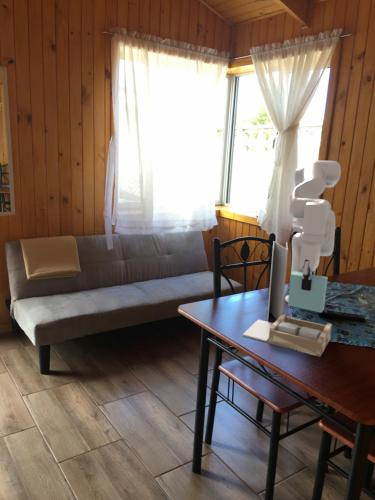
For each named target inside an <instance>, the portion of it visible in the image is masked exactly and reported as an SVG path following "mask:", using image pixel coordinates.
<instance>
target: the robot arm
mask: <svg viewBox="0 0 375 500" xmlns="http://www.w3.org/2000/svg"><path fill="white" fill-rule="evenodd" d="M341 168H342V167H341V165H340V163H339V162H338V161H336V160H320V159H319V160H318V159H315V160H314V159H313V160H309V161H307V162H305V164H304V165H303V166H300V167H298V168H296V169H295V172H294V186H295V187H294V189H293V190H292V191H291V192H290V193H291V194H290V197H289V206H288V207H289V210H288V211H289V215H290V217H292V218H293V219H296V225H297V227H298V228H299V229H301V231H302V232H297V233H296V234H294V235H293V236H292V239H291V250H292V255H291V256H292V257H291V259H292V260H291V269H290V270H291V271H290V274H291V273H293V272H294V271H296V272H301V273H303V277H302V286H301V289H302V290H307V291H310V290H311V283H312V280H311V275H312V274H313V275H316V270H317V268H318V267H319V265H320V264H319V263H320V257H329V256H331V255H332V254H333V252H334V248H335V235H336V233H335V232H336V213H335V212H334V210H332V205H331V204H330V201H328V200H327V199H324V198H319V197H320V196H321V195H322V194H323V192H324V191H326V188H334V187H335V186H336V185H337V183H338V182H339V181H340V179H341V175H342V170H341ZM288 298H289V294H288V295H286V296H284V300H285V302H286V303H288Z"/></svg>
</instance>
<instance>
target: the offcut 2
mask: <svg viewBox="0 0 375 500" xmlns="http://www.w3.org/2000/svg"><path fill="white" fill-rule="evenodd" d="M319 334H320V330H316V329H312V328H307V327H303V326H302V328H301V329H300V330H299V336H300V337H304V338H308V339H313V340H318V338H319Z"/></svg>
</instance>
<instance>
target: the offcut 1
mask: <svg viewBox="0 0 375 500" xmlns="http://www.w3.org/2000/svg"><path fill="white" fill-rule="evenodd" d="M278 331H280V332H284V333H288V334H292V335H296V336H297V333H298V325H295V324H290V323H286V322H281V323H280V324H279V325H278Z"/></svg>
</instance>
